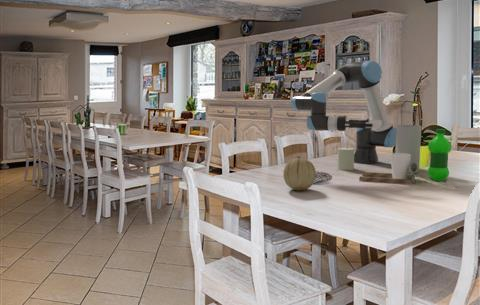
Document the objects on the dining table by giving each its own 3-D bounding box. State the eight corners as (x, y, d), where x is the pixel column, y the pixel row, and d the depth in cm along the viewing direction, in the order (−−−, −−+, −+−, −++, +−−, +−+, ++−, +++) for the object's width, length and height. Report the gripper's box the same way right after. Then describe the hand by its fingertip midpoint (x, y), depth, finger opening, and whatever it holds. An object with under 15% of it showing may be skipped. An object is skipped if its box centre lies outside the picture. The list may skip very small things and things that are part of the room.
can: (355, 168, 258) (355, 147, 256) (352, 170, 250) (352, 149, 248) (339, 166, 262) (339, 146, 260) (335, 169, 254) (336, 148, 252)
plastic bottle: (422, 177, 229) (425, 128, 225) (443, 177, 229) (446, 128, 226) (432, 181, 219) (435, 130, 215) (453, 181, 219) (456, 130, 216)
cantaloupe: (293, 195, 194) (293, 160, 192) (277, 188, 208) (277, 156, 205) (322, 191, 200) (323, 158, 198) (304, 185, 213) (305, 153, 211)
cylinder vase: (407, 174, 237) (409, 127, 234) (389, 170, 248) (391, 125, 245) (424, 172, 243) (426, 126, 239) (405, 168, 254) (407, 124, 250)
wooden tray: (359, 180, 223) (359, 163, 221) (362, 175, 236) (363, 158, 235) (416, 184, 213) (417, 166, 212) (416, 178, 226) (417, 161, 225)
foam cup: (386, 178, 227) (387, 153, 225) (404, 178, 228) (405, 152, 226) (394, 182, 217) (395, 156, 216) (413, 182, 218) (414, 155, 216)
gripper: (341, 128, 242) (382, 129, 234) (332, 133, 219) (378, 134, 211) (341, 114, 241) (383, 114, 233) (333, 117, 218) (379, 118, 210)
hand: (381, 124), depth 222 cm, fingers open, 13 cm apart
